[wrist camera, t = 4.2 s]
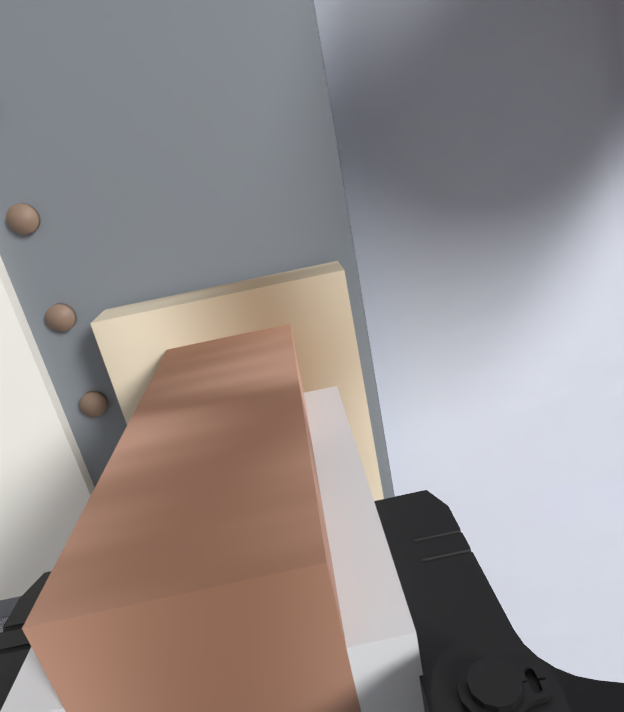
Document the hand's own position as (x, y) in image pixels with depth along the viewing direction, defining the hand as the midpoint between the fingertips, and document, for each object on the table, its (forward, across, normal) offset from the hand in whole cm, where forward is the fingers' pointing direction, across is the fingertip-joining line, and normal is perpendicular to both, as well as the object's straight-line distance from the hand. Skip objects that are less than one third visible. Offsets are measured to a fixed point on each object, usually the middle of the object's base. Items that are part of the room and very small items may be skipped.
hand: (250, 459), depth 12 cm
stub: (+3, 0, 0) cm, 3 cm away
